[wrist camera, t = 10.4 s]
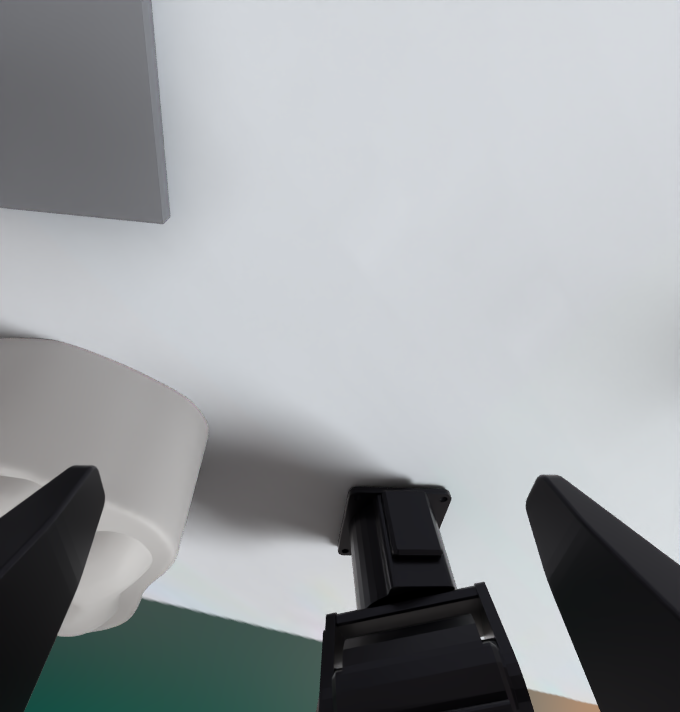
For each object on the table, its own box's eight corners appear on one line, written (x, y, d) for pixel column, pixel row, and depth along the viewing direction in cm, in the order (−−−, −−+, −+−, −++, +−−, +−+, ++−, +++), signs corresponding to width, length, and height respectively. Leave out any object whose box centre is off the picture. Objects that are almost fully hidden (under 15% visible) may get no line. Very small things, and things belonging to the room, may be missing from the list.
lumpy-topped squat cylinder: (154, 518, 27) (98, 682, 19) (-93, 442, 22) (-285, 621, 15) (229, 409, 22) (193, 567, 15) (-58, 285, 18) (-307, 429, 10)
